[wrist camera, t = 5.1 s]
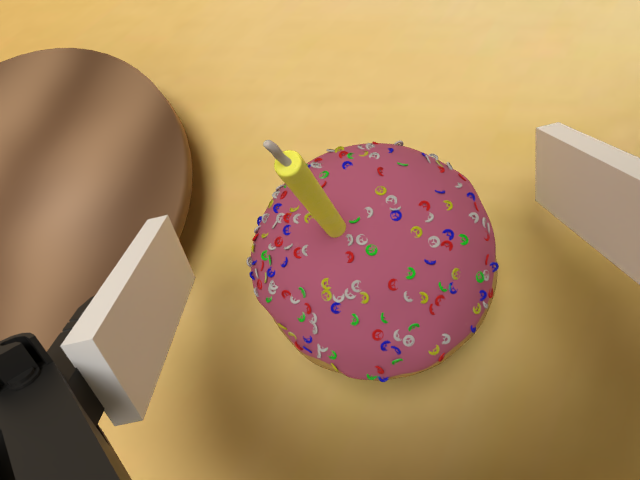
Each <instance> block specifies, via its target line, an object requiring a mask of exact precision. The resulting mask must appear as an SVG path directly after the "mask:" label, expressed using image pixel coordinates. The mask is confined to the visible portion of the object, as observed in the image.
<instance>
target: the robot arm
mask: <svg viewBox="0 0 640 480" xmlns="http://www.w3.org/2000/svg"><path fill="white" fill-rule="evenodd" d="M535 201H537V202H538V203H539V204H540V205H541V206H543V207H544V208H545V209H546V210H548V211H549V212H550V213H551V214H553V215H554V216H555V217H556V218H558V219H559V220H560V221H561V222H563V223H564V224H565V225H566V226H567V227H569V228H570V229H571V230H572V231H574V232H575V233H576V234H577V235H579V236H580V237H581V238H582V239H584V240H585V241H586V242H587V243H588V244H590V245H591V246H592V247H593V248H595V249H596V250H597V251H598V252H600V253H601V254H602V255H603V256H605V257H606V258H607V259H608V260H609V261H611V262H612V263H613V264H614V265H616V266H617V267H618V268H619V269H621V270H622V271H623V272H624V273H626V274H627V275H628V276H629V277H630V278H632V279H633V280H634V281H635V282H637V283H638V284H639V285H640V158H638V157H636V156H634V155H632V154H629V153H627V152H625V151H623V150H620V149H618V148H616V147H613V146H611V145H609V144H607V143H604V142H602V141H600V140H598V139H595V138H593V137H591V136H588V135H586V134H584V133H582V132H579V131H577V130H575V129H573V128H570V127H568V126H566V125H564V124H561V123H559V122H558V123H554V124H550V125H545V126H541V127H537V128H536V184H535ZM194 280H195V275H194V273H193V271H192V269H191V266H190V264H189V262H188V259H187V257H186V255H185V253H184V250H183V248H182V246H181V244H180V241H179V239H178V237H177V234H176V232H175V230H174V228H173V225H172V223H171V221H170V219H169V216H168V215H165V216H161V217H156V218H152V219H148V220H147V221H146V223H145V224H144V225H143V227H142V228H141V230H140V231H139V233H138V234H137V236H136V237H135V238H134V240H133V241H132V243H131V244H130V246H129V247H128V249H127V250H126V252H125V253H124V254H123V256H122V257H121V259H120V260H119V262H118V263H117V265H116V266H115V267H114V269H113V270H112V272H111V273H110V275H109V276H108V278H107V279H106V281H105V282H104V283H103V285H102V286H101V288H100V289H99V291H98V292H97V294H96V295H95V296H92V297H91V298H89V299H88V300H87V301H86V302H85V303H84V304H82V305H81V306H80V307H79V308H78V309H77V310H76V312H75V313H74V314H73V316H72V317H71V319H70V320H69V321H70V322H69V323H67V324H66V326H65V327H64V328H63V330H62V331H63V332H61V333H60V334H59V335H58V337H57V338H56V339H55V341H54V342H53V344H52V345H51V346H50V348H49V349H48V351H47V352H46V350H45V349H44V347H43V346H42V345H41V343H40V342H39V340H38V339H37V338H36V336H35V335H34V334H32V333H20V334H16V335H13V336H10V337H8V338H6V339H4V340H2V341H0V480H132V479H131V478H130V476H129V474H128V473H127V471H126V469H125V468H124V466H123V464H122V463H121V461H120V459H119V458H118V456H117V454H116V453H115V451H114V449H113V448H112V446H111V444H110V442H109V441H108V439H107V437H106V436H105V434H104V432H103V431H102V430H101V428H100V427H99V425H98V422H99V420H100V418H101V416H102V414H103V411H105V413H106V414H107V416H108V417H109V419H110V420H111V421H112V423H113V424H114V426H117V425H122V424H127V423H132V422H137V421H142V420H143V419H144V416H145V414H146V411H147V408H148V405H149V403H150V400H151V397H152V395H153V392H154V389H155V386H156V384H157V381H158V378H159V375H160V373H161V370H162V367H163V365H164V362H165V359H166V356H167V354H168V351H169V348H170V345H171V343H172V340H173V337H174V334H175V332H176V329H177V326H178V324H179V321H180V318H181V315H182V313H183V310H184V307H185V304H186V302H187V299H188V296H189V294H190V291H191V288H192V285H193V283H194Z"/></svg>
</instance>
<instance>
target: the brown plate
mask: <svg viewBox="0 0 640 480" xmlns="http://www.w3.org/2000/svg"><path fill="white" fill-rule="evenodd" d="M192 176H193V170H192V160H191V152H190V148H189V144H188V139H187V136H186V133H185V131H184V128H183V126H182V123H181V121H180V119H179V117H178V116H177V114H176V112H175V111H174V109H173V107H172V106H171V104H170V103H169V102H168V101H167V99H166V98H165V97H164V96H163V94H162V93H161V92H160V91H159V90H158V89H157V87H156V86H155V85H154V84H153V83H152V82H151V80H150V79H148V78H147V77H146V76H145V75H144V74H142V73H141V72H140V71H139V70H138V69H136V68H134V67H133V66H131V65H129V64H128V63H126V62H125V61H123V60H120V59H118V58H115V57H113V56H111V55H108V54H105V53H101V52H97V51H93V50H86V49H77V48H55V49H47V50H40V51H35V52H31V53H27V54H23V55H19V56H16V57H14V58H11V59H8V60H5V61H3V62H0V341H2V340H4V339H6V338H8V337H10V336H13V335H16V334H20V333H32V334H34V335H35V336H36V338H37V339H38V340H39V342H40V343H41V345H42V346H43V347H44V349H45V350H46V352H47V351H48V349H49V348H50V346H51V345H52V344H53V342H54V341H55V339H56V338H57V337H58V335H59V334H60V333H61V332H63V331H62V330H63V328H64V327H65V326H66V324H67V323H69V322H70V321H69V320H70V319H71V317H72V316H73V314H74V313H75V312H76V310H77V309H78V308H79V307H80V306H81V305H82V304H84V303H85V302H86V301H87V300H88V299H89V298H91V297H92V296H95V295H96V294H97V292H98V291H99V289H100V288H101V286H102V285H103V283H104V282H105V281H106V279H107V278H108V276H109V275H110V273H111V272H112V270H113V269H114V267H115V266H116V265H117V263H118V262H119V260H120V259H121V257H122V256H123V254H124V253H125V252H126V250H127V249H128V247H129V246H130V244H131V243H132V241H133V240H134V238H135V237H136V236H137V234H138V233H139V231H140V230H141V228H142V227H143V225H144V224H145V223H146V221H147V220H148V219H152V218H156V217H161V216H165V215H168V216H169V219H170V221H171V223H172V225H173V228H174V230H175V232H176V234H177V237H178V239H179V238H180V236H181V234H182V231H183V227H184V224H185V221H186V218H187V215H188V211H189V205H190V199H191V194H192Z"/></svg>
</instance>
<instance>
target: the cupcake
mask: <svg viewBox="0 0 640 480" xmlns="http://www.w3.org/2000/svg"><path fill="white" fill-rule="evenodd" d="M398 143H400V144H401V145H400V144H398ZM397 144H398V145H397ZM263 145H264V147H265V148H266V149H267V150H268V151H270V152H271V153H272V155H273V156H274V157H275V158H276V160H275V163H274V168H275V171H276V173H277V174H278V175H279V177H280V178H281V179H282V180H283V181H284V183H285V184H284V185H280V186H278V187H277V188H276V192H274V193H273V194H272V196H273V199H272V200H271V202H270V203H269V206H268V208H267V209H266V211H265V213H264V215H263V216H260V217H259V218H258V220H257V224H258V227H257V228H256V229H255V230H254V233H256V235H255V236H254V238H253V239H252V241H254V242H253V245H252V252H251V257H248V258H247V265H248V266H249V267H251V272H250V277H251V278H252V281H253V287H254V293H255V295H256V297H257V299H258V301H259V302H260V303H261V304H262V305H263V306H264V307H265V309H266V310H267V311H268V312H269V313H270V314H271V316H272V317H273V319H274V320H275V322H276V324H277V325H278V327H279V328H280V330H281V331H282V332H283V333H284V335H285V336H286V337H287V338H288V339H289V340H290V342H291V343H292V344H293V345H294V346H295V347H296V348H297V349H298V351H299V352H301V353H302V354H303V355H304V356H305V357H306V358H307V359H309V360H310V361H312V362H313V363H315V364H317V365H319V366H321V367H323V368H326V369H329V370H332V371H335V372H339V373H343V374H345V375H346V376H348V377H351V378H355V379H365V380H377V381H381V382H385V381H387V380H389V379H394V378H400V377H406V376H410V375H414V374H417V373H420V372H422V371H425V370H428V369H430V368H432V367H434V366H436V365H438V364H440V363H442V362H443V361H445V360H446V359H447V358H449V357H450V356H451V355H452V354H453V353H454V352H455V351H456V350H458V349H459V348H460V347H461V346H462V345H463V344H464V343H465V342H466V341H467V340H469V339H470V338H471V337H472V336H473V334H474V333H475V332H476V331H477V330H478V328H479V327H480V325H481V323H482V322H483V320H484V318H485V316H486V314H487V311H488V309H489V307H490V304H491V301H492V299H493V296H494V292H495V288H496V282H497V269H498V267H499V266H498V264H497V262H496V255H495V237H494V233H493V229H492V226H491V223H490V220H489V217H488V215H487V213H486V211H485V209H484V207H483V205H482V203H481V201H480V199H479V196H478V195H477V193H476V191H475V189H474V187H473V186H472V184H471V183H470V181H469V180H468V179H467V178H466V177H465V176H463V175H462V174H460V173H459V172H457V171H456V170H454V169H453V168H452V166H451V165H450V163H449V162H447V165H446V164H444V163H442V162H441V161H439V160H438V156H437V155H435V154H429V155H427V154H424V153H422V152H420V151H417V150H414V149H411V148H408V147H405V146H403V142H402V141H397V142H396V143H395V144H383V143H376V142H372V143H368V144H359V145H353V146H348V147H341V146H340V147H337V148H336V149H335V150H332V149H327V151H329V152H328V153H326V154H323V155H321V156H319V157H317V158H315V159H313V160H312V161H310V162H308V163H307V164H306V163H305V161H304V160H303V158H302V157H301V156H300V154H299V153H297V152H296V151H293V150H287V151H284V152H282V151H281V149H280V148H279V147H278V146H277V145H276V144H275V143H274V142H272V141H271V140H266V141H264V143H263ZM431 156H434V157H435V158H436V159H435V158H434V157H431ZM275 194H276V195H275ZM259 220H260V222H259ZM250 260H251V262H249V261H250ZM250 263H251V264H250Z"/></svg>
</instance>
